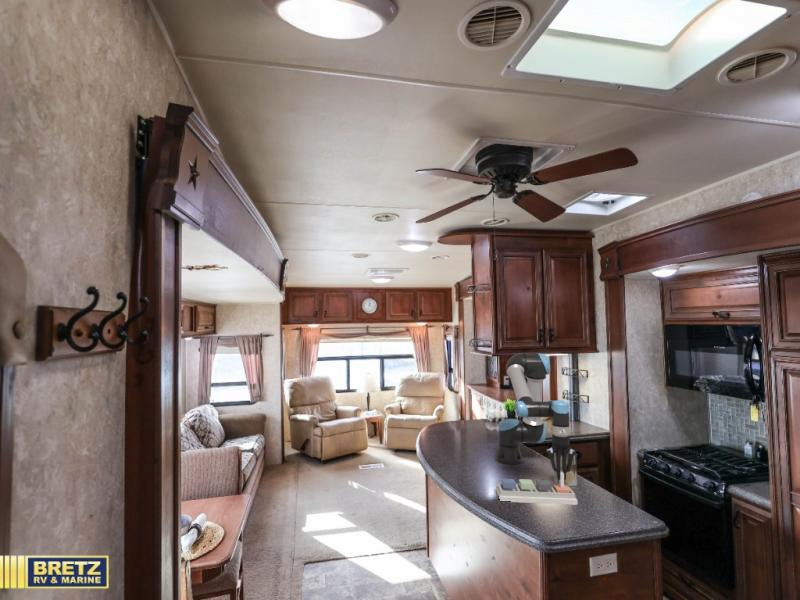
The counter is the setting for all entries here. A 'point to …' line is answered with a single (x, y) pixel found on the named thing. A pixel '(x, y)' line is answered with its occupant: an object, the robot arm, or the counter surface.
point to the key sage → (526, 484)
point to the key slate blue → (509, 483)
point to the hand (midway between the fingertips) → (561, 486)
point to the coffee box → (570, 476)
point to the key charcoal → (543, 485)
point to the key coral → (561, 489)
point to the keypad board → (535, 495)
